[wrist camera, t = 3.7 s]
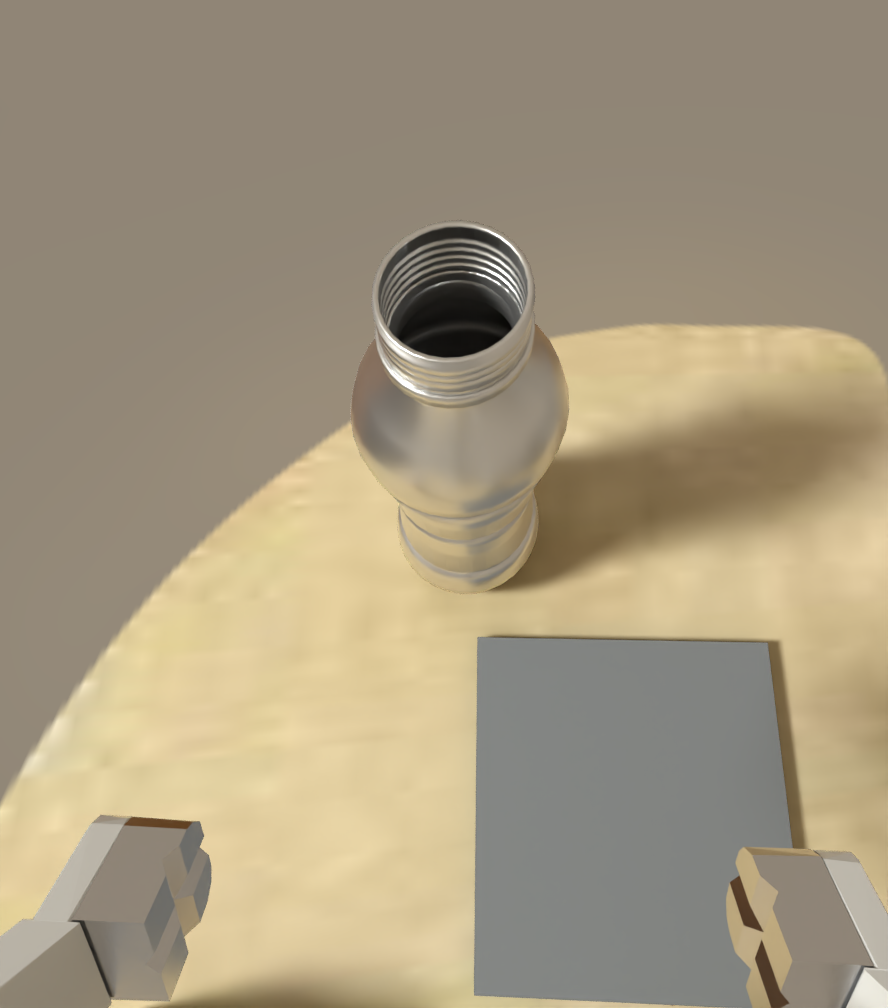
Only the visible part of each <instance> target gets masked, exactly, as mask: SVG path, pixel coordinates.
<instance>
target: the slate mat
mask: <svg viewBox="0 0 888 1008" xmlns="http://www.w3.org/2000/svg"><path fill="white" fill-rule="evenodd" d="M743 847H765V848H793V846H792V838H791V830H790V822H789V814H788V805H787V797H786V789H785V781H784V773H783V764H782V756H781V748H780V740H779V732H778V723H777V715H776V707H775V699H774V691H773V683H772V674H771V666H770V658H769V650H768V643H756V642H703V641H650V640H597V639H544V638H491V637H478V646H477V749H476V853H475V956H474V995H476V996H497V997H518V998H538V999H559V1000H580V1001H601V1002H621V1003H642V1004H663V1005H684V1006H704V1007H725V1008H753V1007H752V1004H751V1001H750V998H749V995H748V992H747V988H746V984H747V981H748V978H749V975H750V972H751V969H750V968H749V967H748V965H747V964H746V963H745V962H744V961H743V960H742V959H741V958H740V957H739V956H738V955H737V954H736V953H735V950H734V946H733V943H732V939H731V936H730V932H729V927H728V922H727V911H726V896H727V892H728V887H729V883H730V882H731V881H732V880H734V879H735V878H737V877H738V876H739V872H738V869H737V866H736V863H735V862H736V859H737V856H738V852H739V851H740V850H741V849H742V848H743Z"/></svg>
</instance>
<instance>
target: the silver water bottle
mask: <svg viewBox="0 0 888 1008" xmlns="http://www.w3.org/2000/svg"><path fill="white" fill-rule="evenodd" d="M372 288H373V289H372V311H373V316H374V321H375V339H374V340H373V341H372V342H371V344H370V345H369V346H368V348H367V350H366V352H365V354H364V356H363V358H362V360H361V362H360V364H359V368H358V371H357V375H356V379H355V383H354V387H353V392H352V398H351V414H350V418H351V424H352V431H353V437H354V440H355V442H356V445H357V447H358V450H359V453H360V455H361V457H362V458H363V460H364V461H365V463H366V465H367V466H368V468H369V469H370V471H371V472H372V474H373V475H374V477H375V478H376V480H377V481H378V482H379V483H380V484H381V485H382V486H383V487H384V488H385V489H386V490H387V491H388V492H389V493H390V494H391V495H392V496H393V497H394V498H395V499H396V500H397V502H398V503H399V506H398V524H397V530H398V536H399V542H400V545H401V548H402V551H403V553H404V556H405V558H406V559H407V561H408V562H409V564H410V565H411V567H412V568H413V569H414V570H415V571H416V572H417V573H418V574H419V575H420V576H421V577H422V578H423V579H424V580H426V581H427V582H429V583H430V584H432V585H433V586H436V587H438V588H441V589H443V590H446V591H449V592H454V593H460V594H475V593H480V592H484V591H488V590H490V589H492V588H495V587H497V586H499V585H501V584H503V583H504V582H506V581H507V580H508V579H510V578H511V577H513V576H514V575H515V574H516V573H517V572H518V571H519V570H520V569H521V568H522V567H523V565H524V564H525V562H526V561H527V559H528V558H529V556H530V554H531V553H532V550H533V547H534V545H535V542H536V539H537V533H538V527H539V523H538V508H537V503H536V499H535V494H534V491H533V490H534V488H535V486H536V485H537V484H538V482H539V481H540V479H541V478H542V477H543V476H544V474H545V472H546V471H547V469H548V468H549V466H550V465H551V463H552V462H553V460H554V458H555V455H556V453H557V451H558V449H559V446H560V444H561V441H562V439H563V436H564V434H565V431H566V426H567V420H568V414H569V395H568V387H567V383H566V379H565V376H564V372H563V369H562V366H561V363H560V361H559V358H558V356H557V354H556V352H555V350H554V348H553V346H552V344H551V342H550V340H549V339H548V338H547V336H546V335H545V334H544V333H543V332H542V331H541V329H540V328H539V327H538V325H536V324H535V315H534V311H533V310H534V302H535V285H534V278H533V275H532V271H531V267H530V264H529V262H528V260H527V259H526V257H525V255H524V253H523V252H522V250H521V249H520V248H519V247H518V246H517V245H516V243H515V242H514V241H512V240H511V239H510V238H509V237H507V236H506V235H505V234H503V233H502V232H500V231H498V230H496V229H494V228H492V227H490V226H487V225H484V224H480V223H477V222H471V221H463V220H454V221H444V222H438V223H434V224H430V225H427V226H424V227H422V228H419V229H417V230H415V231H414V232H412V233H410V234H408V235H407V236H405V237H404V238H402V239H401V240H400V241H399V242H398V243H397V244H395V245H394V246H393V247H392V248H391V249H390V251H389V252H388V253H387V254H386V256H385V257H384V259H383V260H382V262H381V264H380V266H379V268H378V270H377V272H376V275H375V279H374V282H373V287H372Z"/></svg>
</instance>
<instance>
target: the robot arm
mask: <svg viewBox="0 0 888 1008" xmlns="http://www.w3.org/2000/svg"><path fill="white" fill-rule="evenodd" d="M203 837H204V834H203V831H202V827H201V824H200V821H186V820H172V819H157V818H143V817H132V816H113V815H100V816H99V817H98V818H97V819H96V820H95V821H94V822H93V823H91V824H90V826H89V827H88V829H87V831H86V832H85V834H84V836H83V837H82V839H81V841H80V842H79V844H78V845H77V847H76V849H75V850H74V852H73V854H72V855H71V857H70V859H69V860H68V862H67V864H66V865H65V867H64V869H63V870H62V872H61V874H60V875H59V877H58V879H57V880H56V882H55V884H54V885H53V887H52V889H51V890H50V892H49V893H48V895H47V897H46V898H45V900H44V902H43V903H42V905H41V907H40V908H39V910H38V912H37V913H36V915H35V917H34V918H33V919H22V920H21V921H20V922H18V923H17V924H16V925H15V926H13V927H12V928H11V929H9V930H8V931H7V932H5V933H4V934H3V935H1V936H0V1008H108V1007H109V1006H110V1005H111V1003H112V1002H111V999H113V1000H144V1001H170V999H171V997H172V994H173V992H174V989H175V986H176V984H177V981H178V979H179V976H180V973H181V971H182V968H183V966H184V963H185V960H186V958H187V955H188V950H187V946H186V942H185V939H184V936H185V935H186V934H188V933H189V932H190V931H191V930H192V929H193V928H194V927H195V926H196V925H197V924H198V923H200V921H201V918H202V915H203V913H204V910H205V907H206V904H207V901H208V896H209V890H210V885H211V863H210V858H209V855H208V854H207V853H205V852H204V851H203V850H202V849H201V848H200V845H201V842H202V840H203ZM735 863H736V866H737V869H738V872H739V876H738V877H737V878H735V879H734V880H732V881H731V882H730V883H729V887H728V892H727V896H726V911H727V922H728V927H729V932H730V936H731V939H732V943H733V946H734V950H735V953H736V954H737V955H738V956H739V957H740V958H741V959H742V960H743V961H744V962H745V963H746V964H747V965H748V967H749V968H750V969H751V972H750V975H749V978H748V981H747V984H746V988H747V992H748V995H749V998H750V1001H751V1004H752V1007H753V1008H888V914H887V912H886V910H885V908H884V906H883V904H882V902H881V901H880V899H879V897H878V895H877V893H876V891H875V889H874V887H873V886H872V884H871V882H870V880H869V878H868V876H867V874H866V873H865V871H864V869H863V867H862V865H861V863H860V861H859V860H858V859H857V858H856V857H855V856H854V855H853V854H852V853H851V852H846V851H818V850H811V849H796V848H765V847H743V848H742V849H741V850H740V851H739V852H738V856H737V859H736V862H735Z"/></svg>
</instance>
